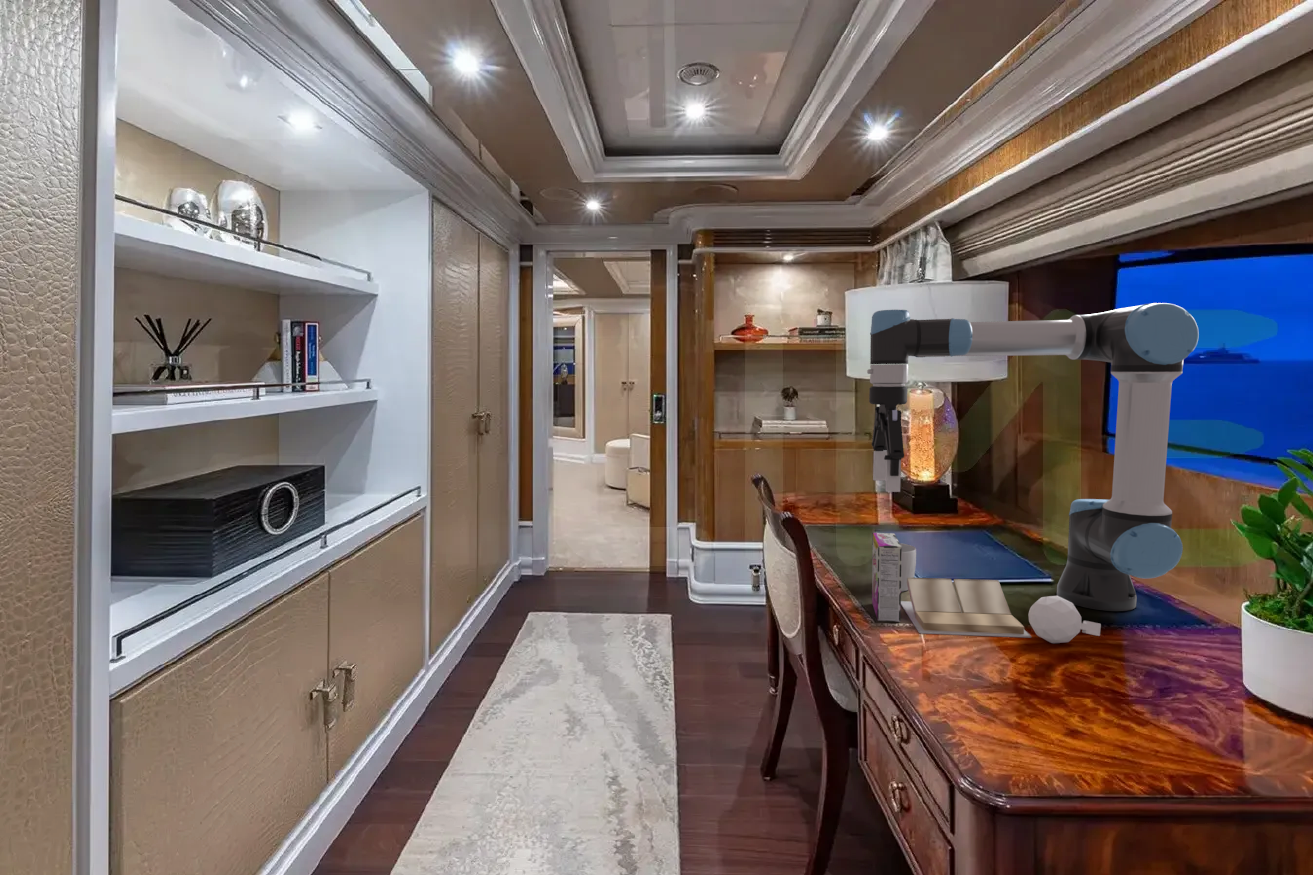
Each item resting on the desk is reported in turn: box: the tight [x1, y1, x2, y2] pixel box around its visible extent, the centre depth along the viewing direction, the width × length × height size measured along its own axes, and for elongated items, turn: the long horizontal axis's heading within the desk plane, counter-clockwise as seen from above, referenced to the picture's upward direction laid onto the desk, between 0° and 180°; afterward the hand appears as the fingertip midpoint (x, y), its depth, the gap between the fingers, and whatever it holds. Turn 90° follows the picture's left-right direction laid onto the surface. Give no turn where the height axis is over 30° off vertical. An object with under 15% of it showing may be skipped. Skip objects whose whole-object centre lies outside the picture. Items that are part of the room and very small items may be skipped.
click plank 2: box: [952, 578, 1012, 615], centre depth 146 cm, size 9×9×1 cm
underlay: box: [901, 600, 1032, 639], centre depth 144 cm, size 21×18×1 cm
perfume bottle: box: [1028, 595, 1102, 644], centre depth 131 cm, size 9×9×12 cm
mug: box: [899, 542, 917, 593], centre depth 165 cm, size 13×9×10 cm
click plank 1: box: [907, 577, 961, 615], centre depth 147 cm, size 9×9×1 cm
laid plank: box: [915, 611, 1025, 634], centre depth 139 cm, size 19×7×2 cm, turn 83°
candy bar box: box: [871, 532, 902, 623], centre depth 147 cm, size 11×5×16 cm, turn 168°
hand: (885, 485), depth 145 cm, fingers open, 13 cm apart
